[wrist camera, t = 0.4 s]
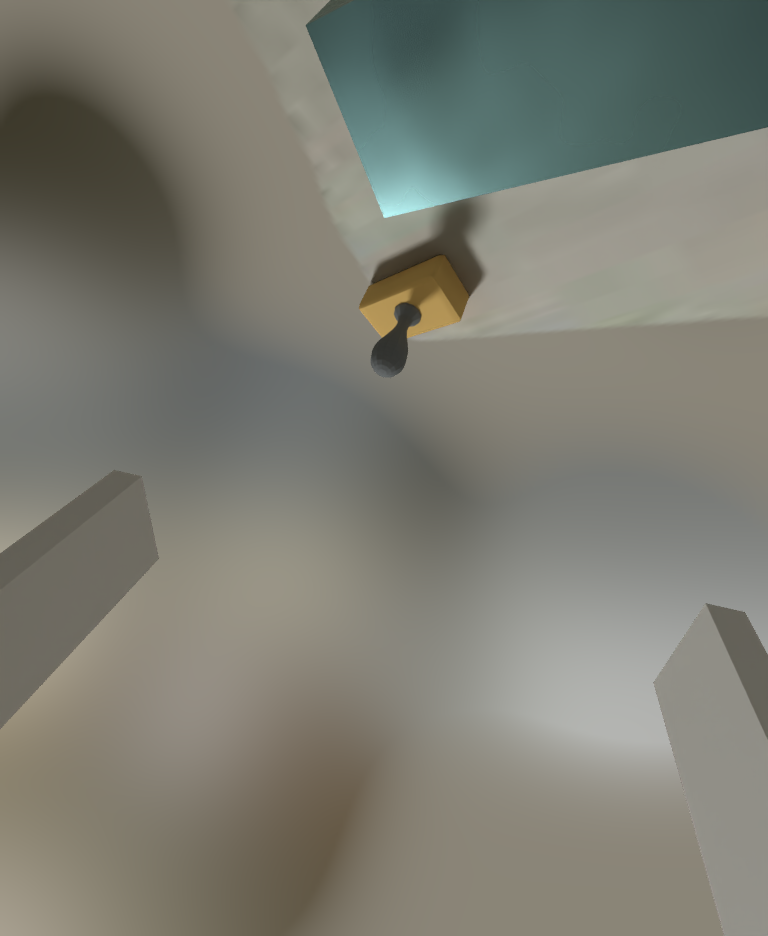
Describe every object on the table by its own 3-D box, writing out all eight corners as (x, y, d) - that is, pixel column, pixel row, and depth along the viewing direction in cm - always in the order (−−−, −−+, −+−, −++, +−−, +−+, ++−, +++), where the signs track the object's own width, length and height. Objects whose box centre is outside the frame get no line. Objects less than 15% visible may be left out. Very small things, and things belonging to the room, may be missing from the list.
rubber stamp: (443, 251, 46) (406, 338, 41) (470, 297, 50) (440, 383, 44) (367, 284, 53) (327, 363, 47) (397, 323, 56) (362, 401, 51)
